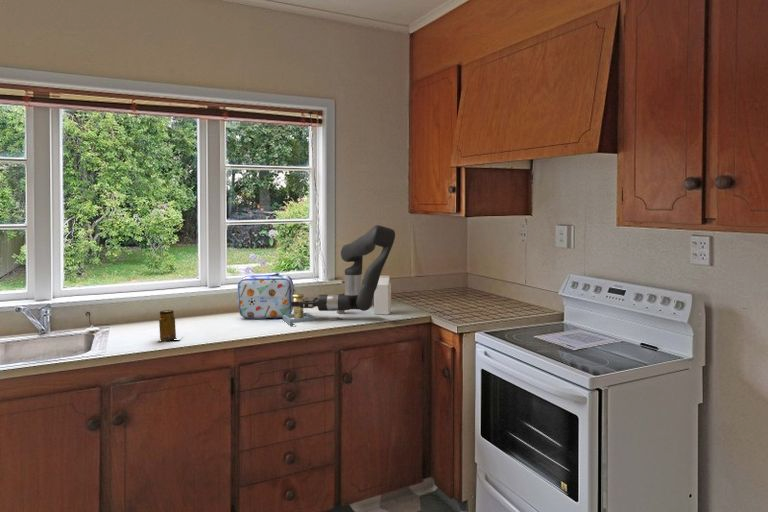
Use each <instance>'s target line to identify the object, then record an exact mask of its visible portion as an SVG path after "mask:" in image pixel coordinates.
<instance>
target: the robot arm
mask: <svg viewBox="0 0 768 512" xmlns="http://www.w3.org/2000/svg"><path fill="white" fill-rule="evenodd" d="M395 238H396V232H395V230H394V229H392V228H390V227H387V226H383V225H381V224H376V225H374V226H373V227H371V228H370V229H369V230H368V231H367V232H366V233H365V234H362V235H361V236H359V237H358V238H357V239H355V240H353V241H351V243H348V244H345V245H343V246H342V247H341V250H340V256H341V259H342V260H343V261H344V262H346V263H353V264H352V265H350V266H349V267H346V268H345V269H344V292H345V293H344V295H336V294H319V295H318V297H305V298H304V297H303V301H300V302H291V306H292V307H293V308H294V307H300V308H303V309H314V308H315V307H317V309H318V311H319V312H335V311H336V312H337V310H345V311H350V310H360V311H363V312H365V311H369V309H370V308H371V307H372V306H373V304H374V302H373V300H374V292H375V290H376V288H377V285H378V281H379V278H380V276H381V274H382V271H383V269H384V266H385V264H386V263H387V259H388V258H389V254H391V253H390V252H391V250H392V247H393V245H394V242H395ZM376 246H377V247H381V248H382V250H381V253H380V254H379V255H378V256H377V258H376V259H375V260H373V262H372V263H371V264H370V265H368V267H367V268H366V270H365V272H364V275H363V263H364V261H363V258H364V257H363V256H366V255H369V254H371V253H372V252H373V251H374V250H375V248H376Z"/></svg>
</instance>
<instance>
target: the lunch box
mask: <svg viewBox="0 0 768 512" xmlns="http://www.w3.org/2000/svg"><path fill="white" fill-rule="evenodd" d="M296 292H297V289H296V288H295V284H294V282H293V279H292V278H291V277H290V275H284V274H283V275H280V273H278V272H277V273H274V274H259V275H257V274H256V275H255V274H254V275H253V274H252V275H246V276H244V277H243V276H242V278H241V279H240V280H239V281H238V284H237V299H238V311H239V315H240V316H241V317H242V318H243V319H244V318H245V319H250V320H251V319H253V320H254V319H255V320H257V319H258V320H259V319H260V320H267V319H266V318H273V319H283V315H288V314H292V312H293V311H294V307H292V306H291V302H293V297H292V295H293V294H295V293H296Z"/></svg>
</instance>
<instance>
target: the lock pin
mask: <svg viewBox="0 0 768 512" xmlns="http://www.w3.org/2000/svg"><path fill="white" fill-rule="evenodd" d="M292 297H293V302H300V301H303V299H304V293H294V294H293V295H292ZM304 311H305V310H304V308H300V307H293V314H294V318H293V319H297V318H305V316H304V313H305V312H304Z"/></svg>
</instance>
